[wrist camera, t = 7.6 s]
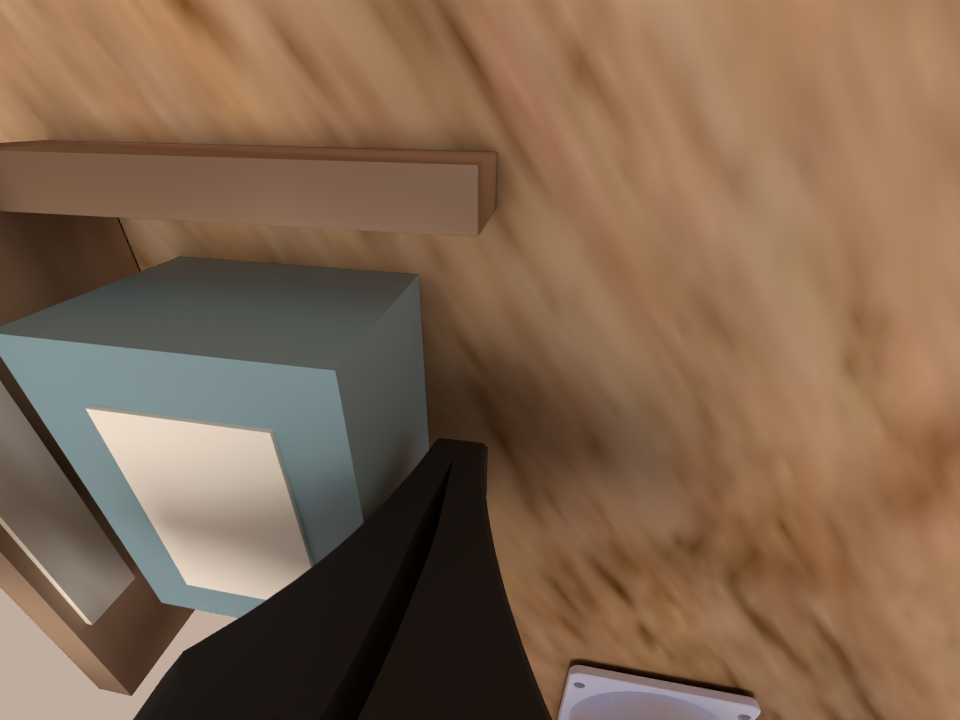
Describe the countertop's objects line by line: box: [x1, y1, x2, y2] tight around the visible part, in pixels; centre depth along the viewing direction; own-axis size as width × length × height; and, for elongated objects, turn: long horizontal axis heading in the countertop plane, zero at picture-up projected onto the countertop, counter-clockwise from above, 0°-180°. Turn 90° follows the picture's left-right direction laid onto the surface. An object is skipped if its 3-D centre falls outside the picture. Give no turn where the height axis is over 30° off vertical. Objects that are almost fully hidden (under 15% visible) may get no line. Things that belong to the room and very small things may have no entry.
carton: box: [0, 257, 429, 618], centre depth 12 cm, size 9×7×5 cm
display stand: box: [0, 140, 497, 696], centre depth 11 cm, size 15×12×6 cm
